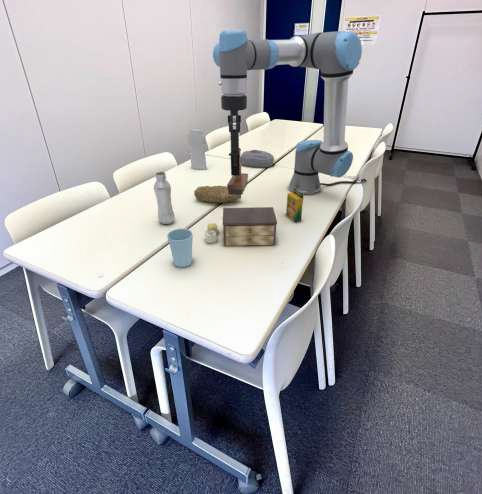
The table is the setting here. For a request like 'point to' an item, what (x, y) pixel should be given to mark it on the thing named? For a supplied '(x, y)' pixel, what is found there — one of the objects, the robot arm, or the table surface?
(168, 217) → the plastic bottle
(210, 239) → the white faceted lump
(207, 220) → the table surface
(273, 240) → the cabinet
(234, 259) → the table surface
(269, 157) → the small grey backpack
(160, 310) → the table surface
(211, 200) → the sponge
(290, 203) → the crayon box
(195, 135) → the tall pale column
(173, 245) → the cup
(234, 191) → the brush
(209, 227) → the paper ball yellow
